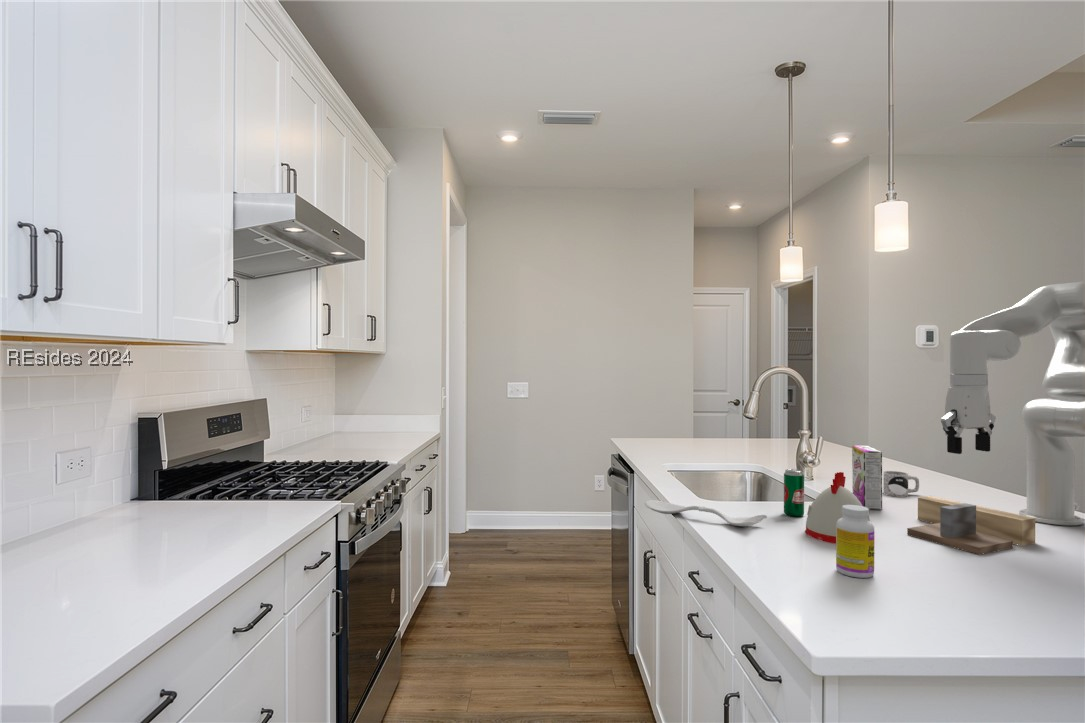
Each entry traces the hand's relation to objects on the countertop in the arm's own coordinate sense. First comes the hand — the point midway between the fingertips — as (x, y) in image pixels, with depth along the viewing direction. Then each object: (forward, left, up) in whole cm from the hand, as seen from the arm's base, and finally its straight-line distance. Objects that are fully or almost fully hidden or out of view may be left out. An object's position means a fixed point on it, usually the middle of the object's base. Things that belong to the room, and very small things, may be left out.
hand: (968, 451), depth 144 cm
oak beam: (-2, 0, -20) cm, 20 cm away
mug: (-23, -33, -20) cm, 45 cm away
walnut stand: (+10, +4, -19) cm, 22 cm away
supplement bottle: (+50, +9, -20) cm, 54 cm away
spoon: (+52, -36, -20) cm, 66 cm away
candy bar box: (-1, -28, -20) cm, 34 cm away
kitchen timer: (+32, -10, -20) cm, 39 cm away
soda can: (+27, -28, -20) cm, 44 cm away
